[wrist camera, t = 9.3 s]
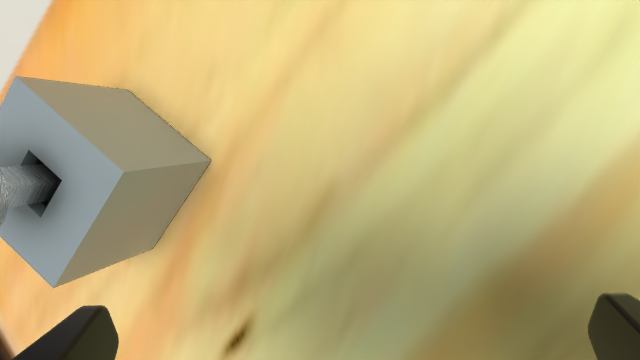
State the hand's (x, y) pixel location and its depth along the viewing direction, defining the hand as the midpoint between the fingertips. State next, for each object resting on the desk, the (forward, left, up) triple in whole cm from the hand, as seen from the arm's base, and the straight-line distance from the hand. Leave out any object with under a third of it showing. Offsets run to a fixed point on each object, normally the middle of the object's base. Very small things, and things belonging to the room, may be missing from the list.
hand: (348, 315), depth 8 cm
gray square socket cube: (+3, +13, -11) cm, 17 cm away
